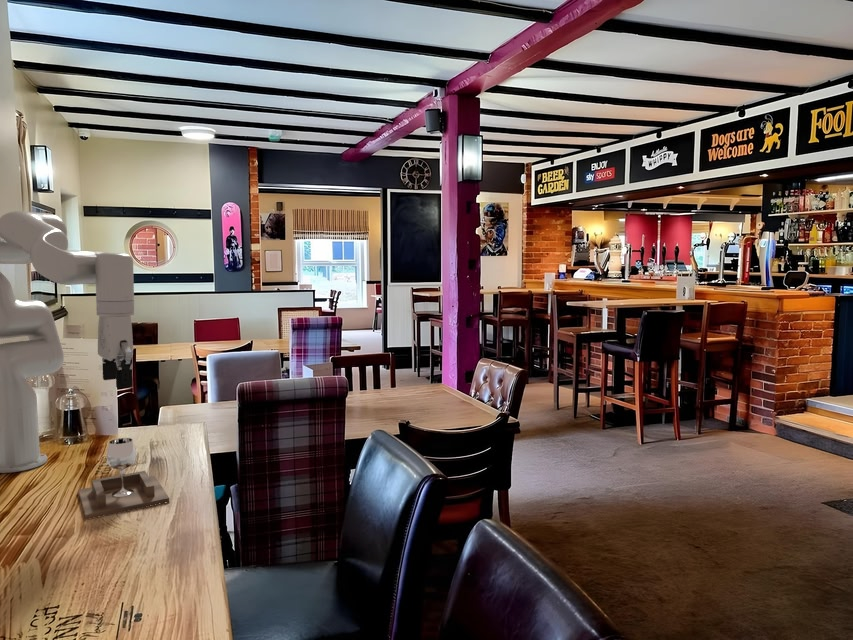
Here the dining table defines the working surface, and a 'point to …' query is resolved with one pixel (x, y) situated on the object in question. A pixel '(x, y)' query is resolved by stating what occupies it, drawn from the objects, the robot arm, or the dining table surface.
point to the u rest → (103, 503)
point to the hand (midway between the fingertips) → (117, 383)
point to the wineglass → (121, 460)
